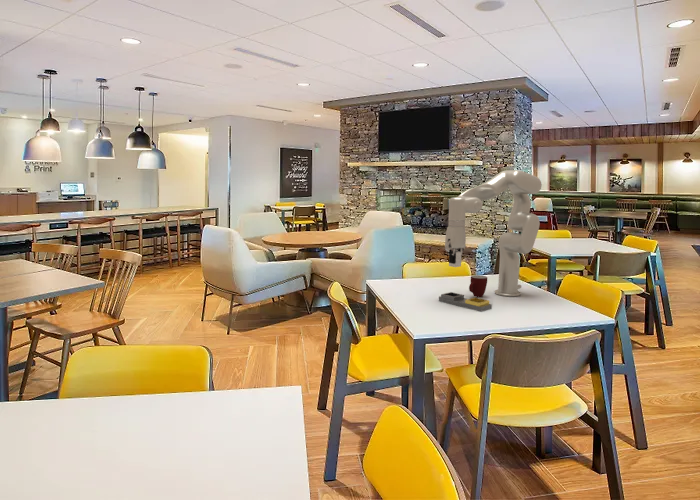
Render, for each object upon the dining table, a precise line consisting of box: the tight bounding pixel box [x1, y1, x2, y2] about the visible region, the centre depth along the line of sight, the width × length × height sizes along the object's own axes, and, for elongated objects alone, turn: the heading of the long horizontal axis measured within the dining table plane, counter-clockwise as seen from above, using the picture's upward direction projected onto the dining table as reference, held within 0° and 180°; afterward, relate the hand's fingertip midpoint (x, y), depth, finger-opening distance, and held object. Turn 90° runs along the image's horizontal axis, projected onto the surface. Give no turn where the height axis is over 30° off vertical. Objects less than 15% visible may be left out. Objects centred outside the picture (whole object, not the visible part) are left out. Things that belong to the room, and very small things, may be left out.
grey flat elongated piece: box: [438, 291, 493, 312], centre depth 230 cm, size 8×24×4 cm, turn 40°
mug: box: [468, 275, 488, 298], centre depth 246 cm, size 10×8×10 cm
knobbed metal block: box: [448, 249, 463, 268], centre depth 232 cm, size 4×4×8 cm
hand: (455, 262), depth 232 cm, fingers closed on knobbed metal block, 4 cm apart
